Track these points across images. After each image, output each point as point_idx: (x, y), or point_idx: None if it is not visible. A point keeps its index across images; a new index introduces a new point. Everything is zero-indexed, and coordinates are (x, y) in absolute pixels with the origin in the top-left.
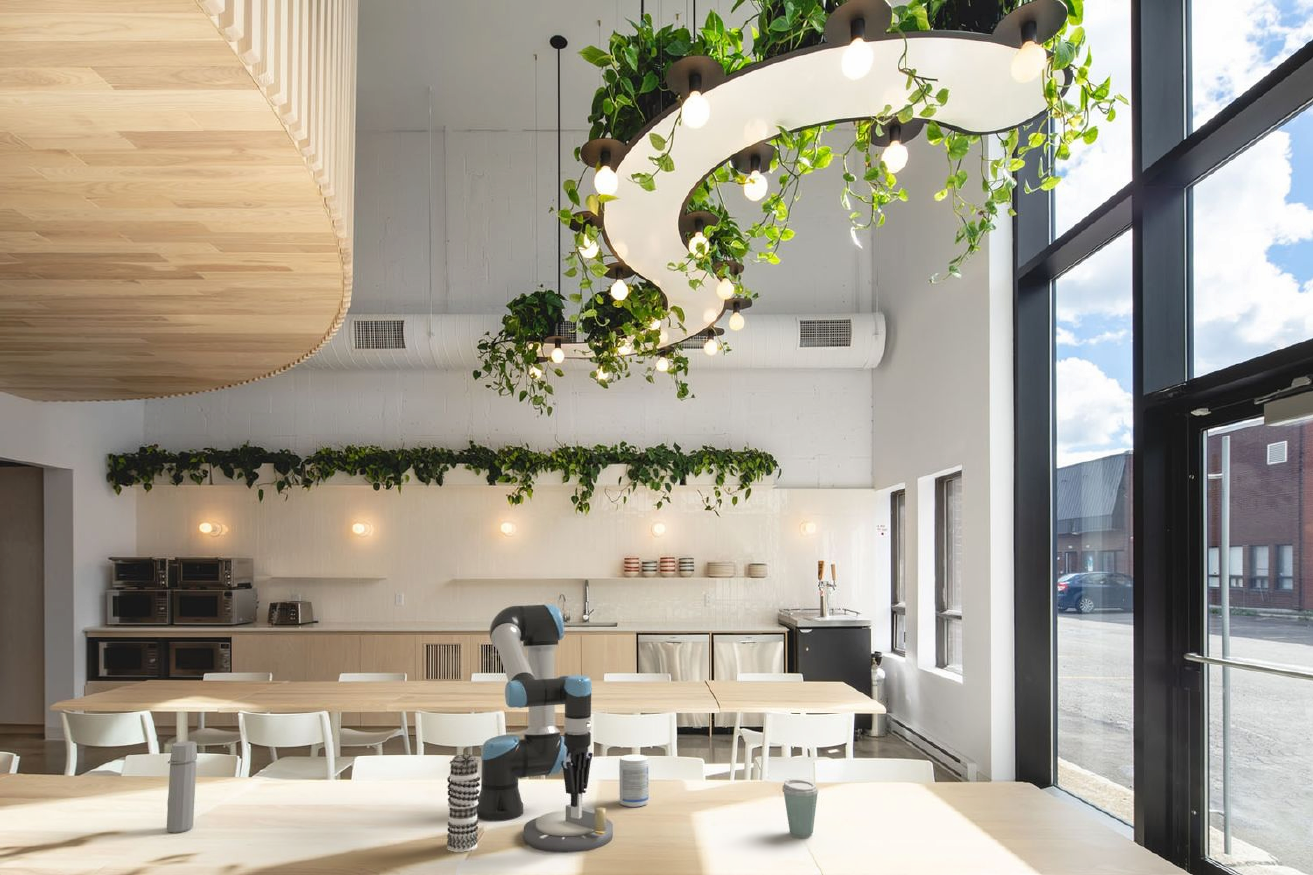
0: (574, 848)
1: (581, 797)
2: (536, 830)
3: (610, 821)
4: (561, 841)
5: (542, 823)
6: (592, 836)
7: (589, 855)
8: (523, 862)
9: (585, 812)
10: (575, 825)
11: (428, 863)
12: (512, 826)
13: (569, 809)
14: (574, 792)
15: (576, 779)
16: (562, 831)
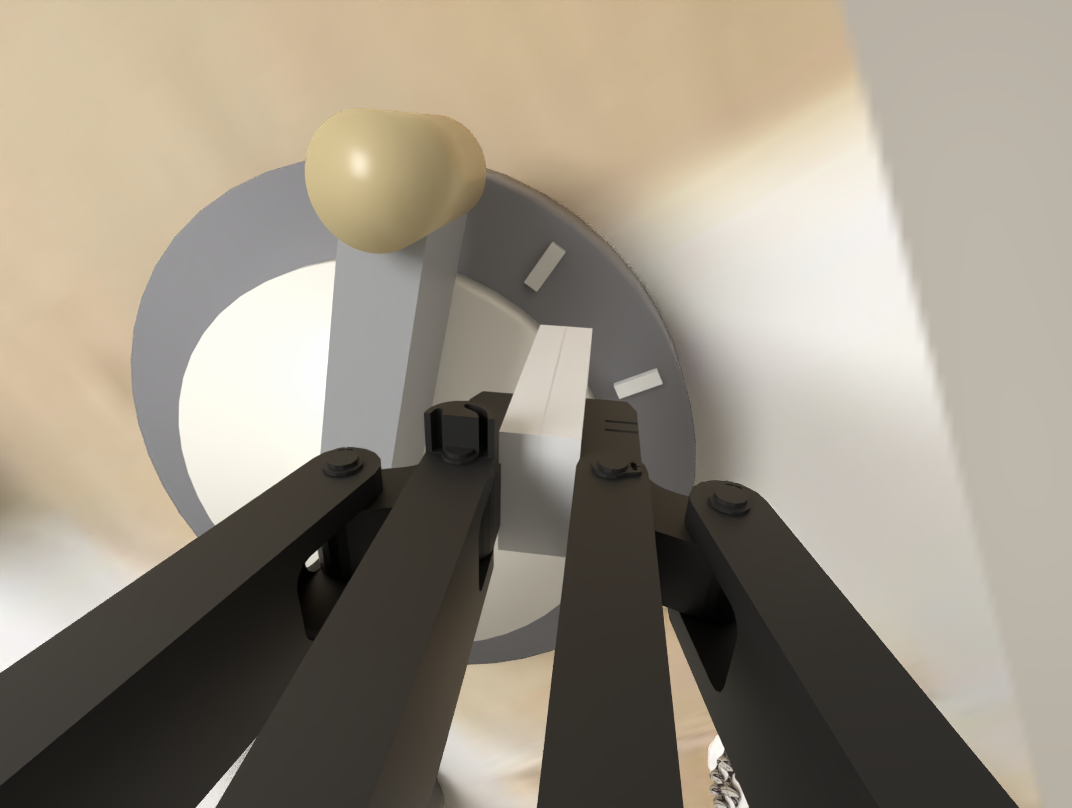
0: (635, 280)
1: (523, 407)
2: None
3: (157, 266)
4: (680, 371)
5: (526, 588)
6: (491, 218)
7: (658, 139)
8: (915, 458)
9: (412, 355)
10: (454, 398)
11: (1023, 788)
12: None
13: None
14: (731, 492)
15: (662, 668)
16: None
